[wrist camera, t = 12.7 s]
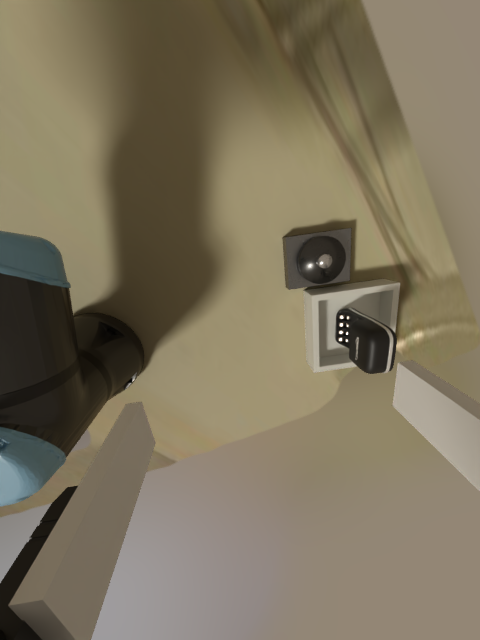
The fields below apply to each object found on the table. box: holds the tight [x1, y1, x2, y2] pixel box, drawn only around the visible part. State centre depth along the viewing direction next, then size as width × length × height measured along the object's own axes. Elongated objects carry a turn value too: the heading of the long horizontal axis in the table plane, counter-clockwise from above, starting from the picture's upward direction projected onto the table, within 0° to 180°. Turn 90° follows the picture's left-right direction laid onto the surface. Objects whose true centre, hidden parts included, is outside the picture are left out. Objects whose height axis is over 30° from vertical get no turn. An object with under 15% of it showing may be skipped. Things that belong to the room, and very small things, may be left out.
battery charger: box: [335, 308, 397, 374], centre depth 35 cm, size 7×4×11 cm, turn 6°
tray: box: [304, 279, 400, 373], centre depth 40 cm, size 14×14×4 cm
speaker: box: [283, 228, 351, 290], centre depth 35 cm, size 10×8×4 cm
